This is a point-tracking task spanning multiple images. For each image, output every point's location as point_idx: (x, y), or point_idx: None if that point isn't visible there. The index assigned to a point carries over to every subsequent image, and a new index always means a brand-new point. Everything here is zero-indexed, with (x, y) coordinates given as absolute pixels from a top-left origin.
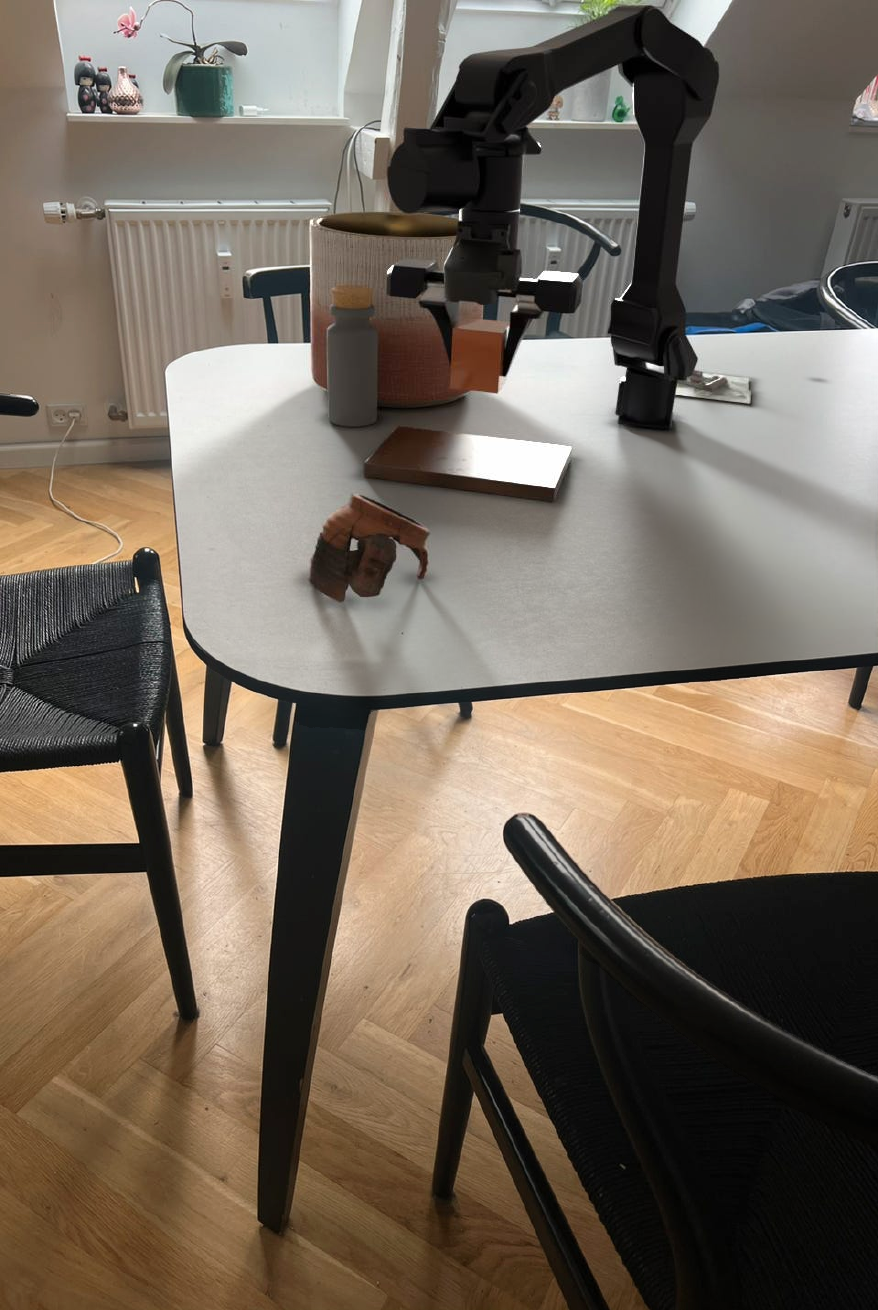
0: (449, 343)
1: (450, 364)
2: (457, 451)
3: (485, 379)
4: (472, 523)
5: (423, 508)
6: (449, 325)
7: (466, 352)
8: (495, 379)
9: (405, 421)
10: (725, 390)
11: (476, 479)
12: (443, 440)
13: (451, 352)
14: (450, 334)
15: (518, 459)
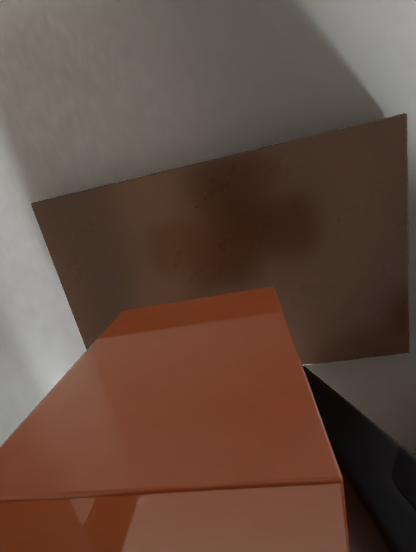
0: (347, 434)
1: (311, 374)
2: (252, 281)
3: (148, 322)
4: (105, 18)
5: (215, 31)
6: (404, 543)
7: (215, 366)
8: (114, 330)
9: (412, 416)
10: None
11: (164, 172)
12: (298, 321)
13: (320, 403)
14: (362, 477)
15: (143, 298)
